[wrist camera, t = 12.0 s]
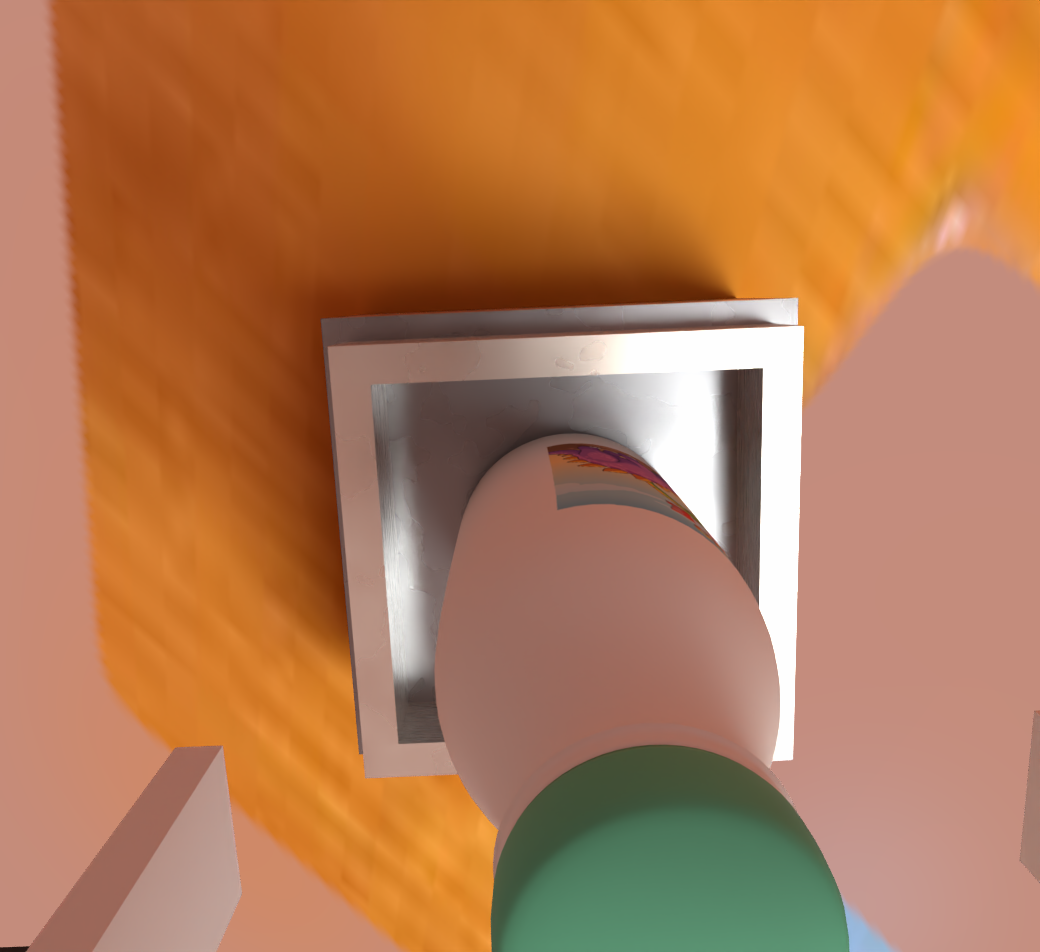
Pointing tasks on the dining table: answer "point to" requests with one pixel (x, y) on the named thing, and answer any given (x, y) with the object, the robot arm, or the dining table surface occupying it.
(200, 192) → the dining table surface
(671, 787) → the milk bottle
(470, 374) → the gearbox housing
